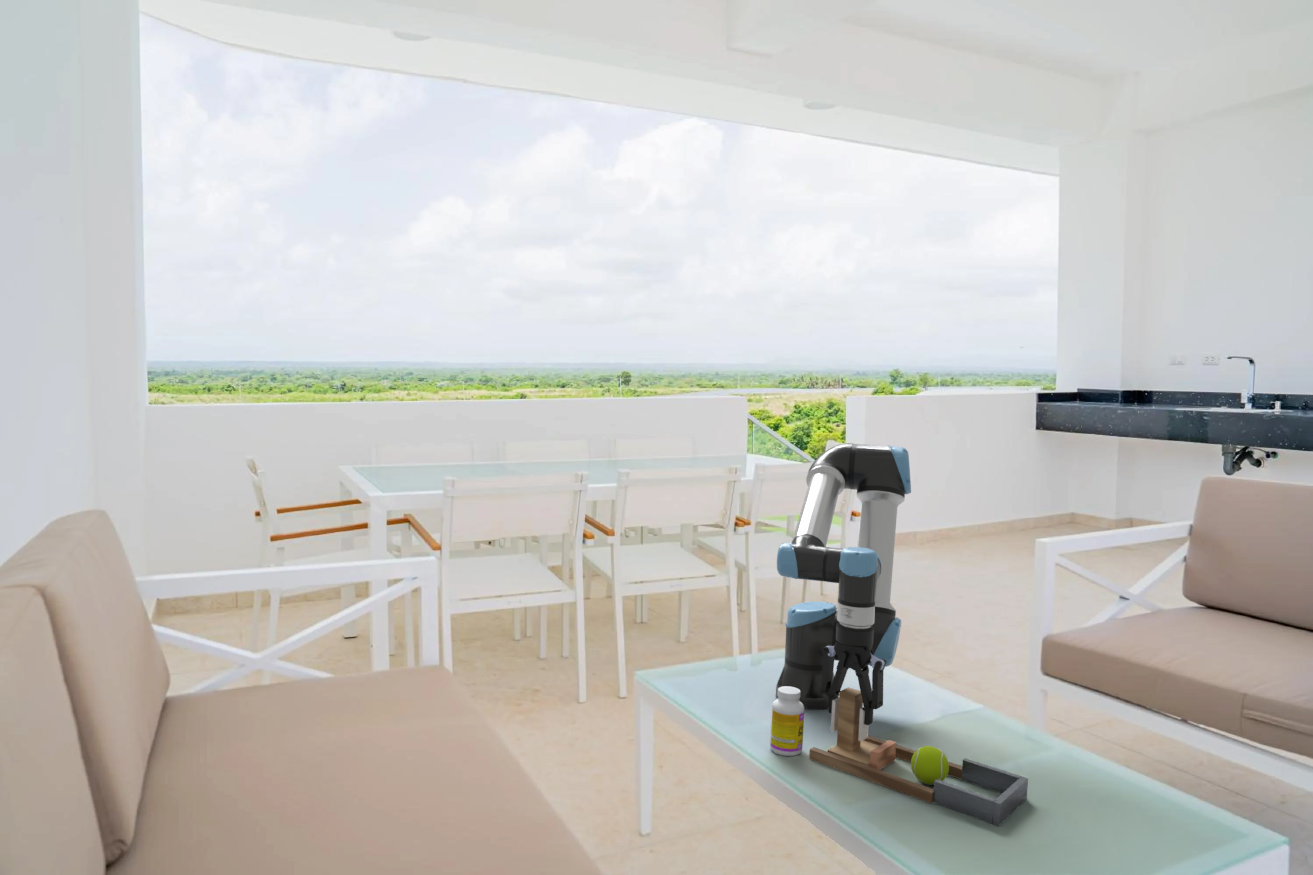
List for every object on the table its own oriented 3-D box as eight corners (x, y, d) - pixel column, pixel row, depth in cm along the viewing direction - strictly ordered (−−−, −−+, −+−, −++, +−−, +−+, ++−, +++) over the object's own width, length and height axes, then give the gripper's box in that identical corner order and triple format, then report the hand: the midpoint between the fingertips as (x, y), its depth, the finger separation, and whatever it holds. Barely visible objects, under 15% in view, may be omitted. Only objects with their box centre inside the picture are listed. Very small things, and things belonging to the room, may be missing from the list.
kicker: (851, 743, 183) (854, 683, 183) (897, 758, 176) (900, 696, 176) (827, 756, 176) (830, 694, 175) (874, 773, 169) (877, 708, 168)
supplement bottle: (801, 758, 175) (804, 697, 174) (768, 754, 176) (771, 693, 176) (802, 745, 182) (805, 686, 181) (771, 742, 183) (774, 682, 182)
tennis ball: (949, 779, 168) (951, 744, 168) (945, 794, 162) (947, 758, 162) (912, 771, 171) (914, 737, 171) (907, 785, 165) (909, 750, 165)
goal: (963, 777, 169) (965, 757, 169) (1026, 798, 161) (1028, 778, 161) (932, 802, 159) (934, 781, 158) (998, 826, 151) (1000, 803, 150)
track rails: (847, 737, 187) (847, 728, 187) (965, 776, 170) (965, 766, 170) (809, 758, 175) (809, 749, 175) (931, 803, 158) (932, 792, 158)
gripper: (806, 617, 180) (800, 725, 181) (888, 637, 168) (882, 753, 169) (824, 611, 186) (819, 716, 187) (906, 630, 173) (899, 742, 175)
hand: (849, 733), depth 178 cm, fingers open, 6 cm apart
